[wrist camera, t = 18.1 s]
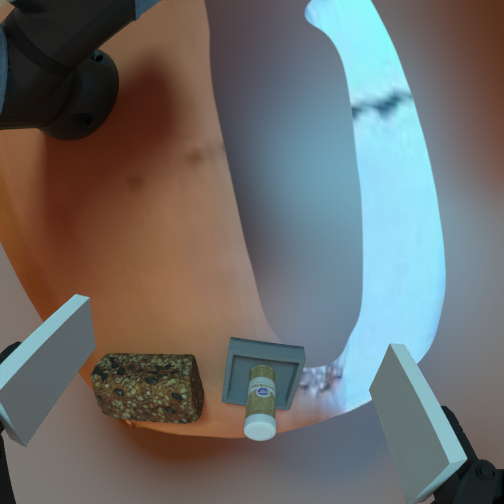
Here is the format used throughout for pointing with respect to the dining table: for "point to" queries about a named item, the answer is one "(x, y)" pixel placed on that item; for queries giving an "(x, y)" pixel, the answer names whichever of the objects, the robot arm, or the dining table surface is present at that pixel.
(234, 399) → the tray
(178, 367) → the bread
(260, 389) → the sprinkles bottle
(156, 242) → the dining table surface
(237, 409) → the dining table surface
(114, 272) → the dining table surface
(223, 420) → the dining table surface
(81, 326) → the robot arm
